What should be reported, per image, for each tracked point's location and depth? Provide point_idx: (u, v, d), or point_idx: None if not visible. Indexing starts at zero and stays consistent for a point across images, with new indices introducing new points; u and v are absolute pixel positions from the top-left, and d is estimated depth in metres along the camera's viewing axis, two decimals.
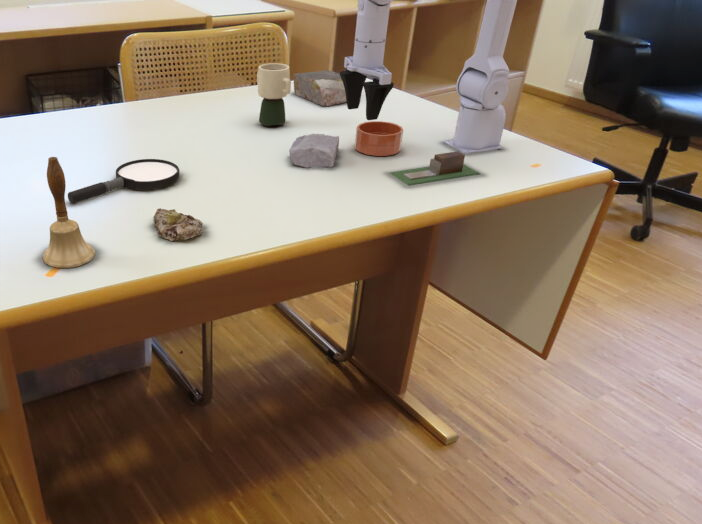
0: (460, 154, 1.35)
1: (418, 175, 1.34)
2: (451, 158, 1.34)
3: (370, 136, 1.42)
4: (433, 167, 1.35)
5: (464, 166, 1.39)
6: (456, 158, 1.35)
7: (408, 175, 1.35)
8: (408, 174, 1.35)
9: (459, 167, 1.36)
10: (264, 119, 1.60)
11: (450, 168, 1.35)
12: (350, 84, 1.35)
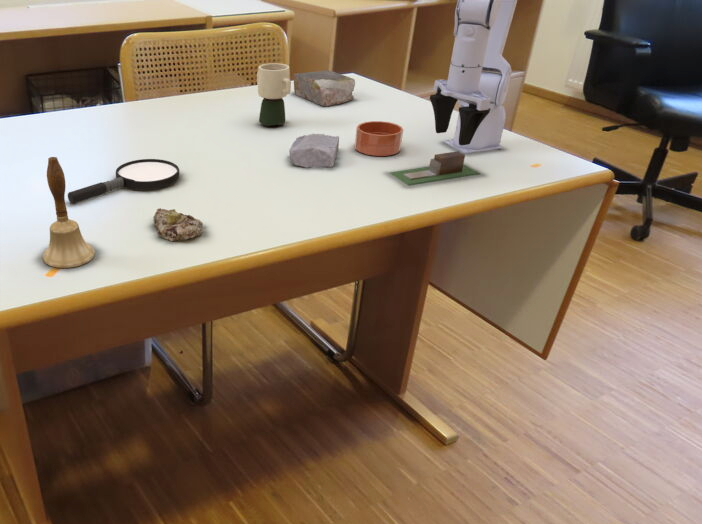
0: (460, 154, 1.35)
1: (418, 175, 1.34)
2: (451, 158, 1.34)
3: (370, 136, 1.42)
4: (433, 167, 1.35)
5: (464, 166, 1.39)
6: (456, 158, 1.35)
7: (408, 175, 1.35)
8: (408, 174, 1.35)
9: (459, 167, 1.36)
10: (264, 119, 1.60)
11: (450, 168, 1.35)
12: (440, 108, 1.33)
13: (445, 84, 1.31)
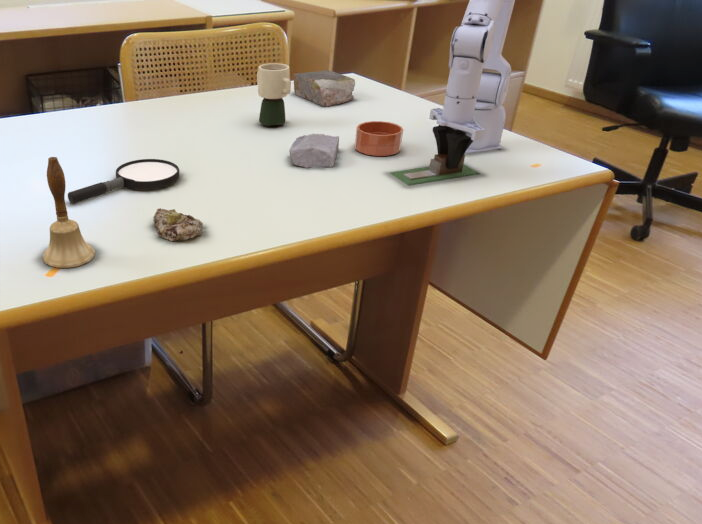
0: None
1: (418, 175, 1.34)
2: None
3: (370, 136, 1.42)
4: (433, 167, 1.35)
5: (464, 166, 1.39)
6: None
7: (408, 175, 1.35)
8: (408, 174, 1.35)
9: (459, 167, 1.36)
10: (264, 119, 1.60)
11: None
12: (443, 140, 1.34)
13: (441, 113, 1.34)
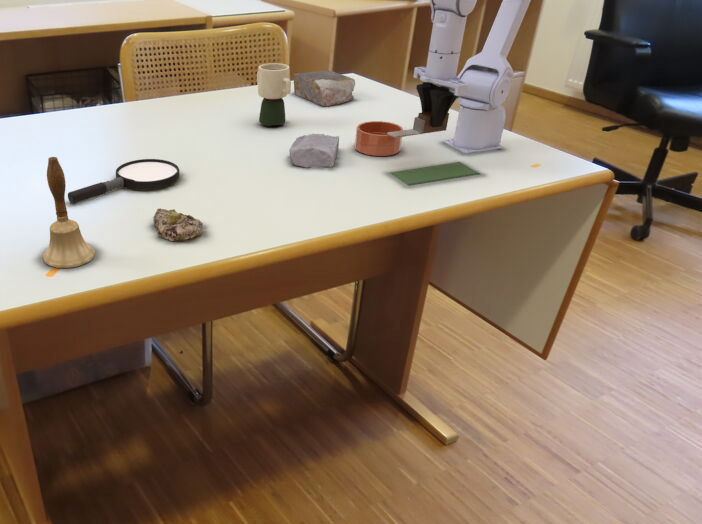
0: None
1: (402, 133, 1.34)
2: None
3: (370, 136, 1.42)
4: (417, 125, 1.35)
5: (464, 166, 1.39)
6: None
7: (392, 133, 1.34)
8: (392, 132, 1.34)
9: (443, 125, 1.35)
10: (264, 119, 1.60)
11: None
12: (427, 97, 1.34)
13: (424, 71, 1.34)
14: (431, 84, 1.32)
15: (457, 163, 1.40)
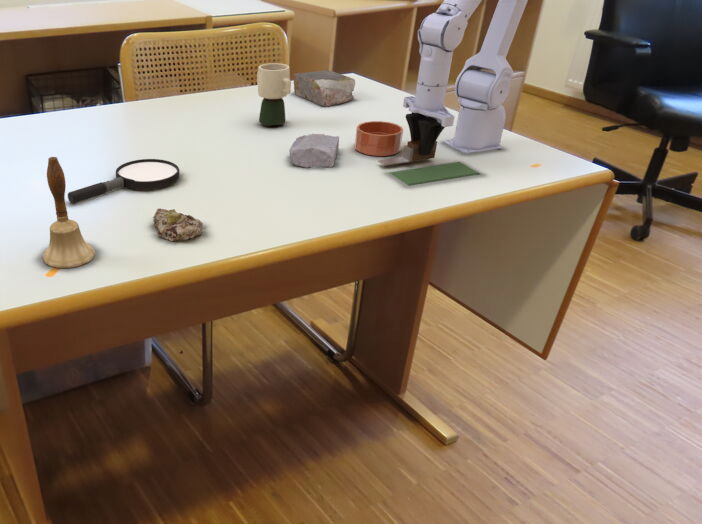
0: None
1: (392, 161, 1.39)
2: None
3: (370, 136, 1.42)
4: (406, 153, 1.39)
5: (464, 166, 1.39)
6: None
7: (382, 161, 1.39)
8: (382, 160, 1.39)
9: (431, 153, 1.40)
10: (264, 119, 1.60)
11: None
12: (416, 127, 1.38)
13: (413, 101, 1.38)
14: (420, 114, 1.37)
15: (457, 163, 1.40)
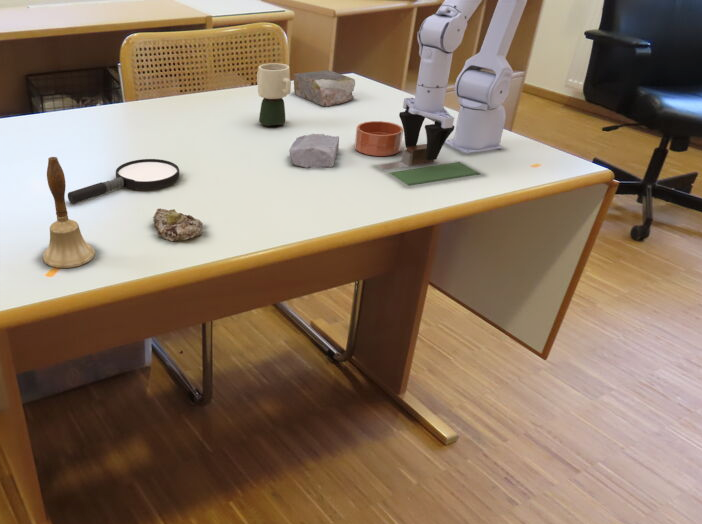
0: None
1: (391, 166, 1.39)
2: (422, 149, 1.39)
3: (370, 136, 1.42)
4: (405, 159, 1.40)
5: (464, 166, 1.39)
6: None
7: (381, 166, 1.39)
8: (381, 165, 1.40)
9: None
10: (264, 119, 1.60)
11: (421, 160, 1.40)
12: (409, 124, 1.40)
13: (413, 102, 1.38)
14: None
15: (457, 163, 1.40)
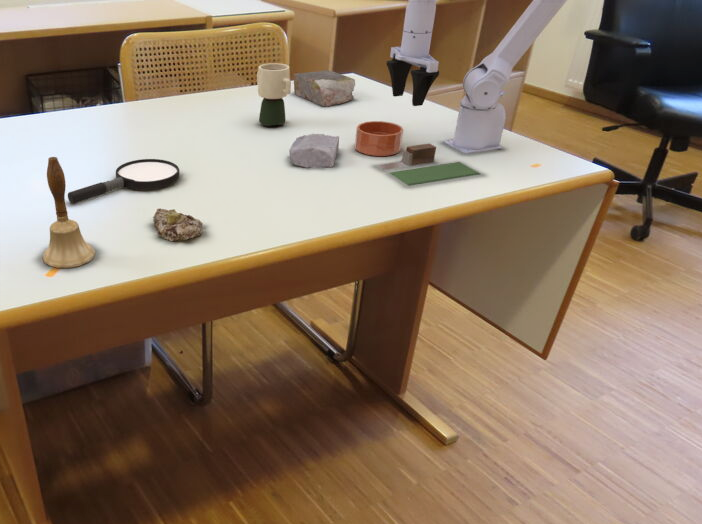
0: (431, 146, 1.40)
1: (391, 166, 1.39)
2: (422, 149, 1.39)
3: (370, 136, 1.42)
4: (405, 159, 1.40)
5: (464, 166, 1.39)
6: (427, 150, 1.39)
7: (381, 166, 1.39)
8: (381, 165, 1.40)
9: (430, 159, 1.41)
10: (264, 119, 1.60)
11: (421, 160, 1.40)
12: (396, 73, 1.45)
13: (400, 50, 1.43)
14: (400, 60, 1.44)
15: (457, 163, 1.40)
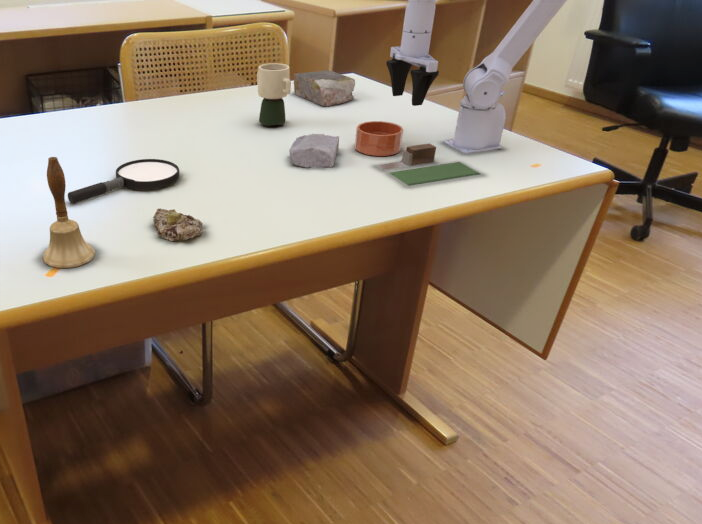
0: (431, 146, 1.40)
1: (391, 166, 1.39)
2: (422, 149, 1.39)
3: (370, 136, 1.42)
4: (405, 159, 1.40)
5: (464, 166, 1.39)
6: (427, 150, 1.39)
7: (381, 166, 1.39)
8: (381, 165, 1.40)
9: (430, 159, 1.41)
10: (264, 119, 1.60)
11: (421, 160, 1.40)
12: (396, 72, 1.45)
13: (400, 50, 1.44)
14: (399, 60, 1.44)
15: (457, 163, 1.40)
